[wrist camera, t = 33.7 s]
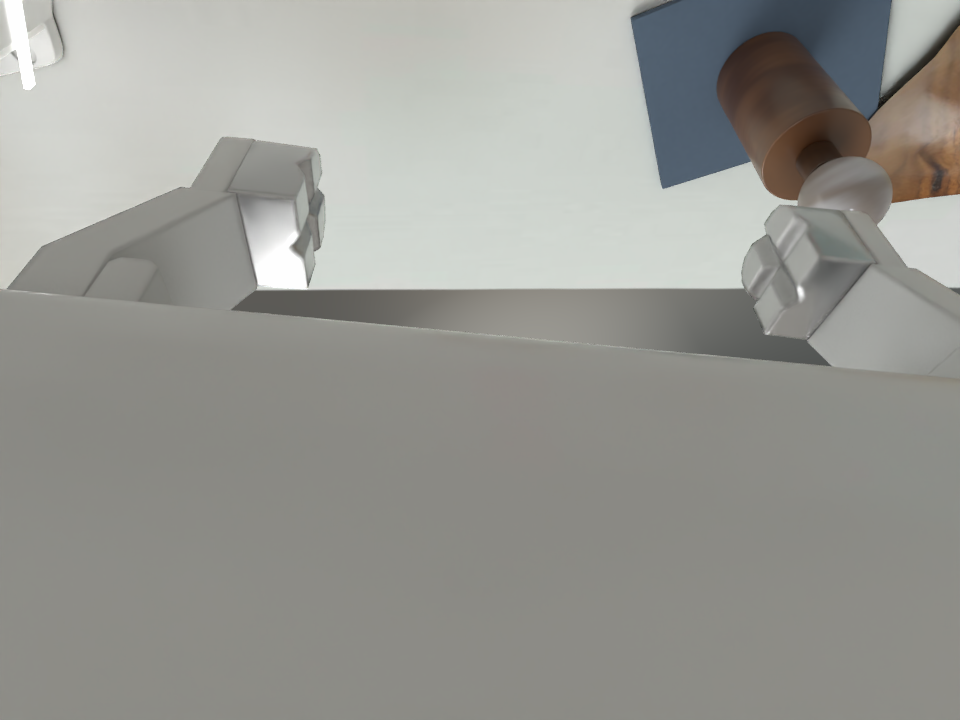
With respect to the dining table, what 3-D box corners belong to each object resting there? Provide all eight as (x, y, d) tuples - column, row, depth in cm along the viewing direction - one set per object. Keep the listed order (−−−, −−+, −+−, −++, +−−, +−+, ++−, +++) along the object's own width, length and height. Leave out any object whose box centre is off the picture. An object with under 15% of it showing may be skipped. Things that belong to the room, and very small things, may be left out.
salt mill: (709, 84, 45) (800, 255, 44) (677, 22, 32) (806, 262, 31) (789, 31, 41) (888, 213, 41) (789, -63, 29) (935, 202, 28)
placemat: (661, 185, 49) (662, 189, 48) (630, 17, 39) (631, 20, 38) (873, 118, 44) (876, 122, 44) (898, -93, 34) (903, -90, 34)
